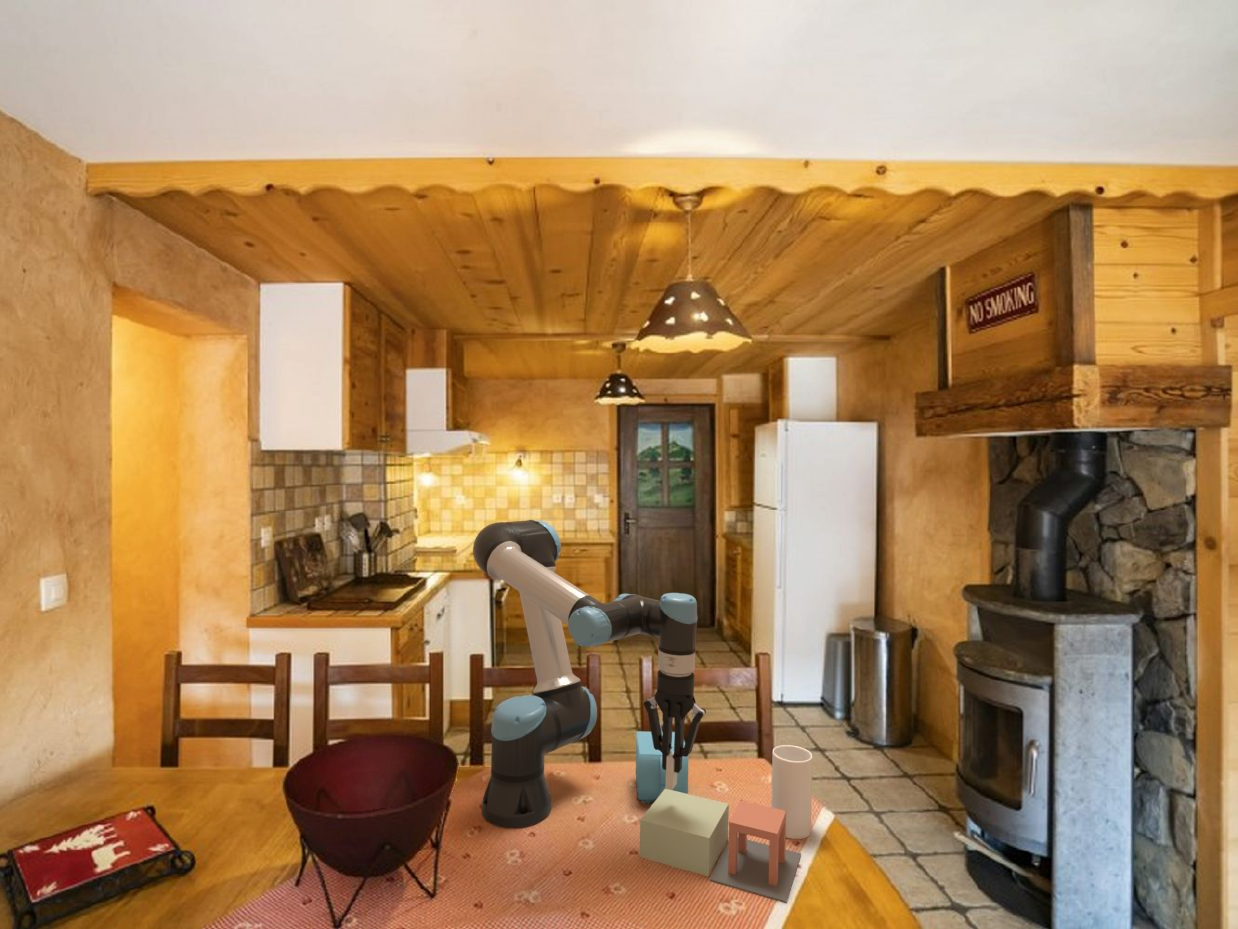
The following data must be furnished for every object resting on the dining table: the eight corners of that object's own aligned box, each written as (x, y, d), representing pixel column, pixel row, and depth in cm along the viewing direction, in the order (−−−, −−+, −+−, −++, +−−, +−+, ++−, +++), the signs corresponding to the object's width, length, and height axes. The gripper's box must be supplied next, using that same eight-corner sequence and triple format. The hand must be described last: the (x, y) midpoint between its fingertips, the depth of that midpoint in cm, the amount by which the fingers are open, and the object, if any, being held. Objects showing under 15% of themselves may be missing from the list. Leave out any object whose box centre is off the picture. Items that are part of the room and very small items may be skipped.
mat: (709, 880, 120) (709, 879, 120) (731, 837, 135) (731, 835, 135) (786, 903, 115) (786, 901, 115) (800, 854, 129) (800, 853, 129)
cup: (812, 841, 134) (814, 763, 134) (771, 836, 136) (773, 759, 136) (809, 820, 142) (810, 747, 142) (770, 815, 144) (772, 743, 144)
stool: (729, 822, 122) (777, 834, 119) (740, 800, 131) (786, 810, 127) (728, 872, 122) (776, 886, 119) (739, 847, 131) (785, 859, 127)
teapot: (689, 814, 143) (690, 751, 144) (638, 813, 143) (640, 751, 143) (678, 768, 165) (679, 714, 166) (634, 768, 165) (635, 713, 165)
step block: (639, 856, 127) (640, 819, 127) (664, 822, 140) (665, 788, 140) (708, 876, 121) (709, 838, 121) (728, 838, 134) (728, 803, 134)
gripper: (639, 670, 132) (634, 786, 132) (701, 682, 126) (696, 803, 127) (653, 660, 139) (648, 770, 139) (712, 671, 133) (707, 786, 133)
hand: (671, 786), depth 133 cm, fingers closed
